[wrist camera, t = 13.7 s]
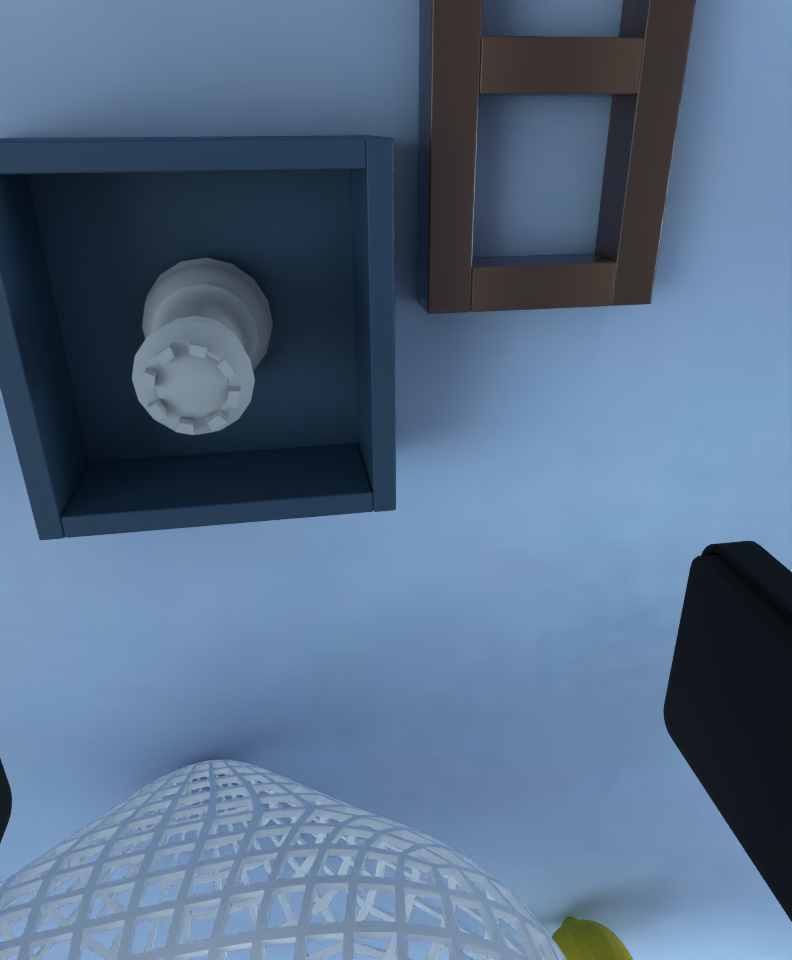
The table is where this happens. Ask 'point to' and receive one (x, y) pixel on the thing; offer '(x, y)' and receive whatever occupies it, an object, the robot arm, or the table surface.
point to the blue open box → (119, 335)
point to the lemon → (589, 941)
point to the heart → (307, 806)
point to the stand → (547, 72)
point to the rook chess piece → (201, 345)
